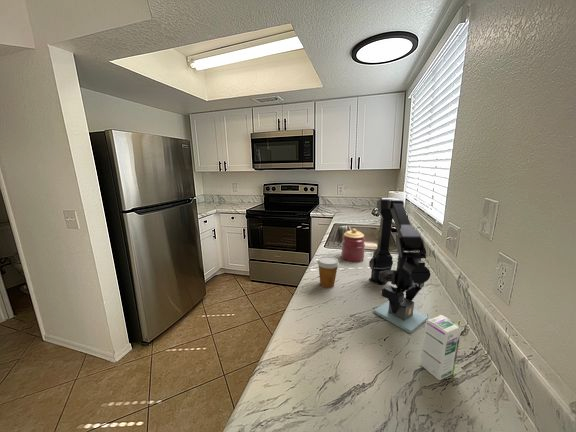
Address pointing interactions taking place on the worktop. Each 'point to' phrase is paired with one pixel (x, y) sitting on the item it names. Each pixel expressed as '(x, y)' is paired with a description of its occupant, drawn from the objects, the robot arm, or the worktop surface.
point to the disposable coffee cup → (327, 270)
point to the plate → (407, 325)
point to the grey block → (404, 309)
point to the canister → (353, 246)
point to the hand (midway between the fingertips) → (400, 308)
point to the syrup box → (440, 346)
